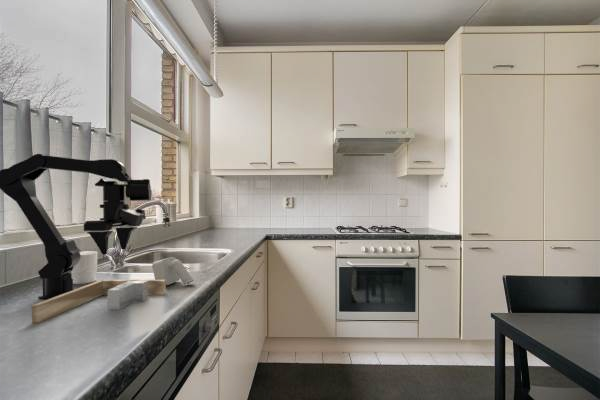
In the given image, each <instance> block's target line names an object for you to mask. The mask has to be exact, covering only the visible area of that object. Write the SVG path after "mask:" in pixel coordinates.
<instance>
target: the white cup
mask: <svg viewBox="0 0 600 400" xmlns="http://www.w3.org/2000/svg"><path fill="white" fill-rule="evenodd" d="M79 253H80V256H81V258H80V260H79V262H78V263H77V264H76V265H75V266H74V268H73V270H72V271H70V273H72V279H73V285H84V284H91V283H94V282H96V280H97V272H98V271H97V270H98V254H99V253H98V251H96V250H87V251H86V250H85V251H84V250H83V251H80V252H79Z"/></svg>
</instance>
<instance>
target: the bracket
mask: <svg viewBox="0 0 600 400" xmlns="http://www.w3.org/2000/svg"><path fill="white" fill-rule="evenodd" d="M148 299H149V295H148V281H127V282H125V283H123V284H121V285H118V286H116V287H114V288H111V289H109V290H108V295H107V311H120V310H122V309H123V308H125V307H127V306H129V305H130V304H132V303H134V302H139V303H140V302H145V301H146V300H148Z"/></svg>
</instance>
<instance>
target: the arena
mask: <svg viewBox="0 0 600 400" xmlns="http://www.w3.org/2000/svg"><path fill="white" fill-rule="evenodd" d="M127 281H148V296H149V295H151V296H152V295H158V296H159V295H162V296H163V295H165V294H166V291H167V288H166V287H167V285H166V280H155V279H99V280H97V281H94V282H91V283H87V285H83V286H81V287H78V288H75V289H73V290H72V291H70V292H67V293H64V294H62V295H59V296H56V297H53V298H51V299H45V300H43V301H41V302H38V303H36V304H32V305H31V318H32V321H31V322H32V324H40V323H42V322H45V321H47V320H49V319H52V318H53V317H56V316H58V315H60V314H62V313H65V312H66V311H70V310H72V309H73V308H76V307H78V306H79V305H80V306H81V305H82V304H83V305H84V304H85V303H87V302H90V301H91V300H94V299H96V298H98V297H101V296H103V295H107V296H108V290H109V289H111V288H114V287H116V286H118V285H121V284H123V283H125V282H127Z"/></svg>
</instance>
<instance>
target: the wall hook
mask: <svg viewBox="0 0 600 400" xmlns="http://www.w3.org/2000/svg"><path fill="white" fill-rule="evenodd" d="M151 266H152V267H151V268H152V272H153V277H154V280H166V286H168V285H172V284H173V283H176V282H178V281H180V280H181V282H182V284H184V286H185V285H186V284H188V285H189V284H191V283H193V281H194V278H193V277H192V275H191V274H190V272H189V271H188V269H187V268H186V267H185V265H184V264H183V262H182V261H181V260H180V259H177V258H176V257H175V256H171V257H167V258H162V259H160V260H156V261H153V262H152V265H151ZM186 286H187V285H186Z"/></svg>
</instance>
